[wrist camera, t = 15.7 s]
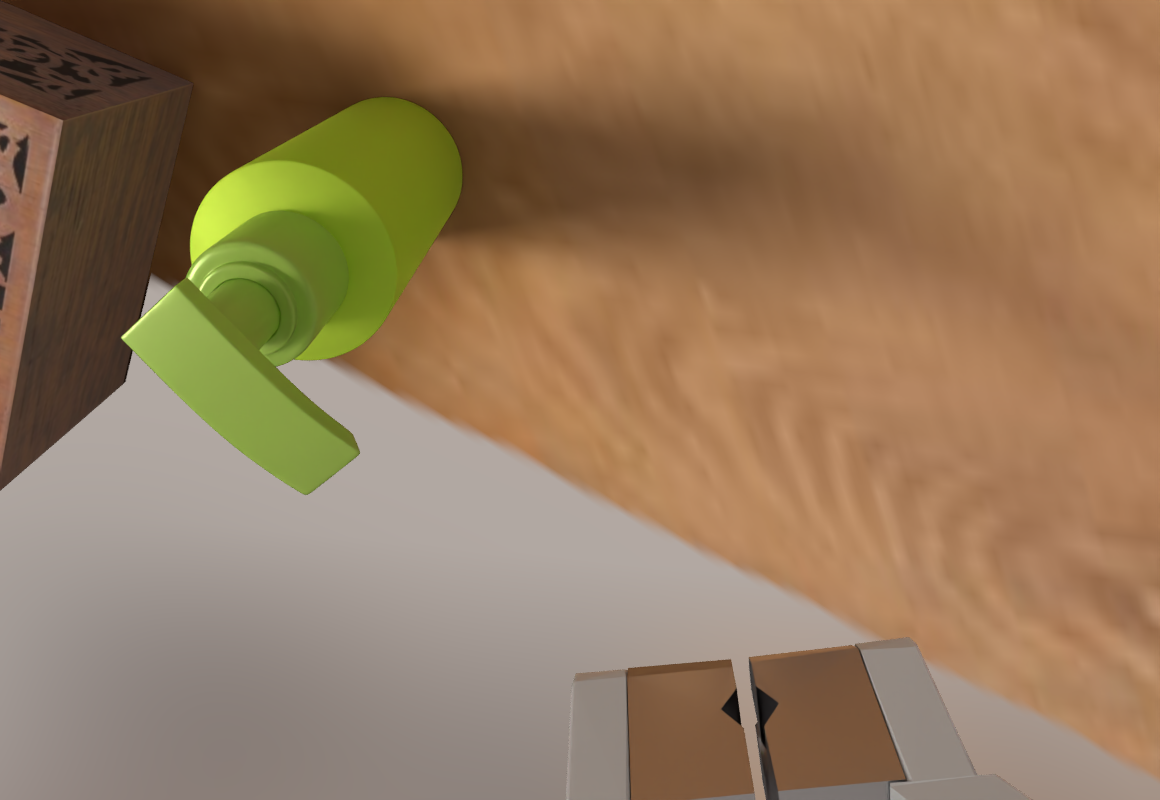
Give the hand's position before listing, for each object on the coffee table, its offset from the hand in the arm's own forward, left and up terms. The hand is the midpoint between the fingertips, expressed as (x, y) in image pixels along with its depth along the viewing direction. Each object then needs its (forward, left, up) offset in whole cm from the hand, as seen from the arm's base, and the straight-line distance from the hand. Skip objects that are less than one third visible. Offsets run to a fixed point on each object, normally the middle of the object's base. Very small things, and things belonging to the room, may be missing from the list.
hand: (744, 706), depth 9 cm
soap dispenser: (+10, 0, -31) cm, 33 cm away
